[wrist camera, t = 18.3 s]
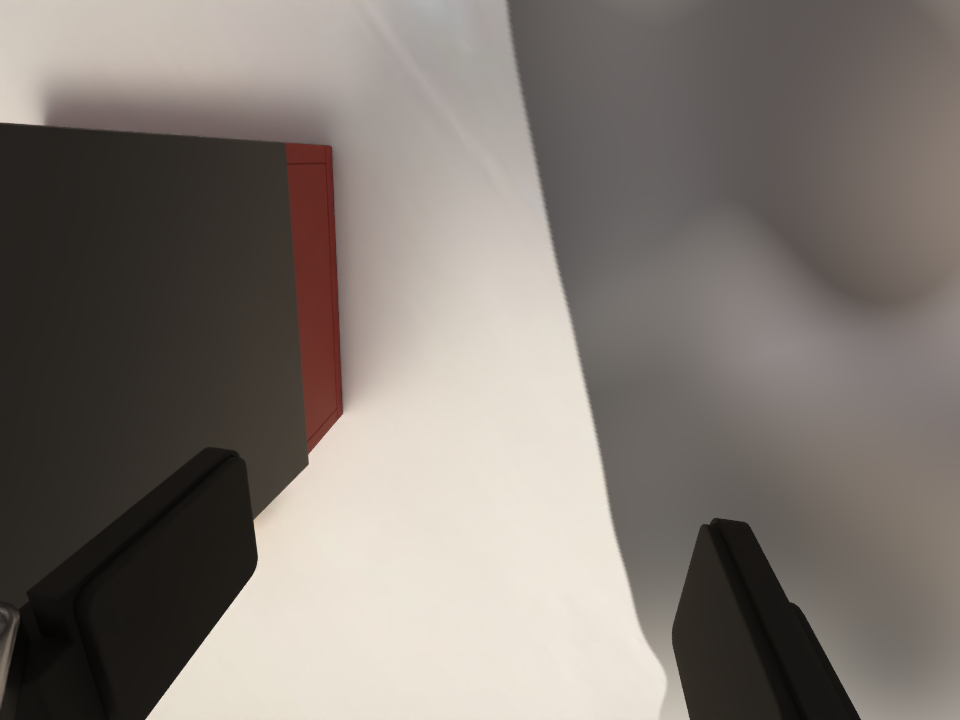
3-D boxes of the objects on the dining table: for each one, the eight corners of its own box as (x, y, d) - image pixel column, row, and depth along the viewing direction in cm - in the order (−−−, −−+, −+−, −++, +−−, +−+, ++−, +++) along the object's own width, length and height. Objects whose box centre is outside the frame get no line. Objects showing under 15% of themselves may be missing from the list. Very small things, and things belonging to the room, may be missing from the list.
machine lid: (-158, 892, 10) (-129, 905, 10) (-769, 68, 5) (-725, 71, 5) (294, 461, 25) (309, 464, 25) (267, 141, 20) (286, 142, 20)
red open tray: (101, 383, 32) (27, 419, 27) (42, 125, 26) (-63, 118, 22) (342, 414, 30) (306, 458, 26) (332, 145, 25) (282, 142, 20)
